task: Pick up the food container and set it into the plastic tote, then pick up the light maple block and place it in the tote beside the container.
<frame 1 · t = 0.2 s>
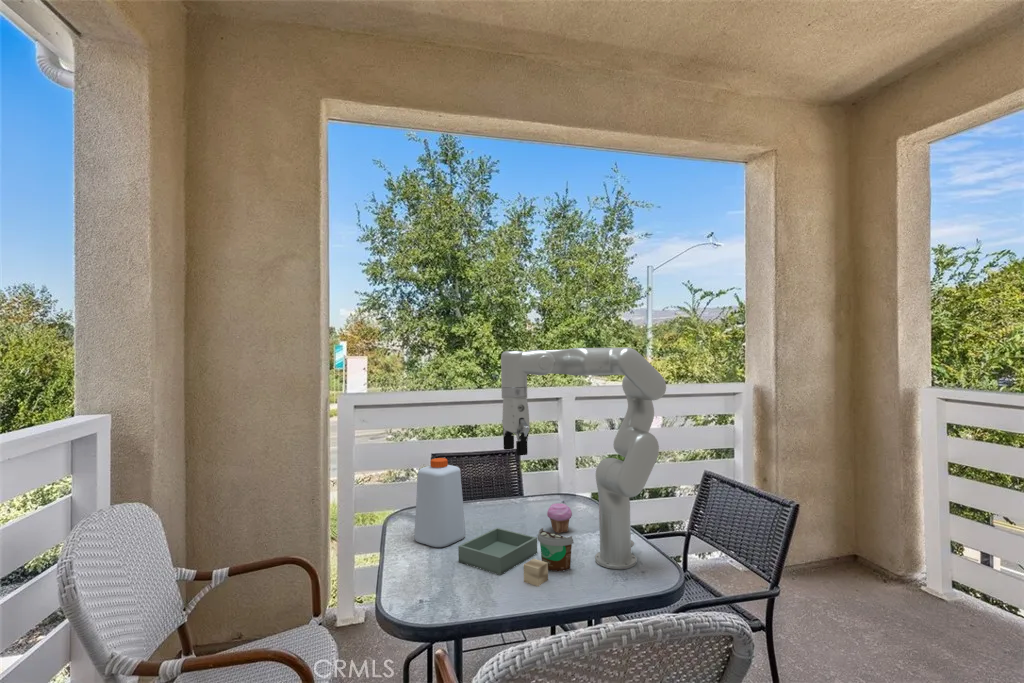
hand: (515, 451, 147), 36 cm above the table, tool pointing down, fingers open, 9 cm apart
cupcake: (559, 531, 184), on the table
food container: (551, 568, 153), on the table
maple block: (536, 581, 145), on the table
plastic bottle: (440, 539, 178), on the table
tote: (498, 557, 162), on the table
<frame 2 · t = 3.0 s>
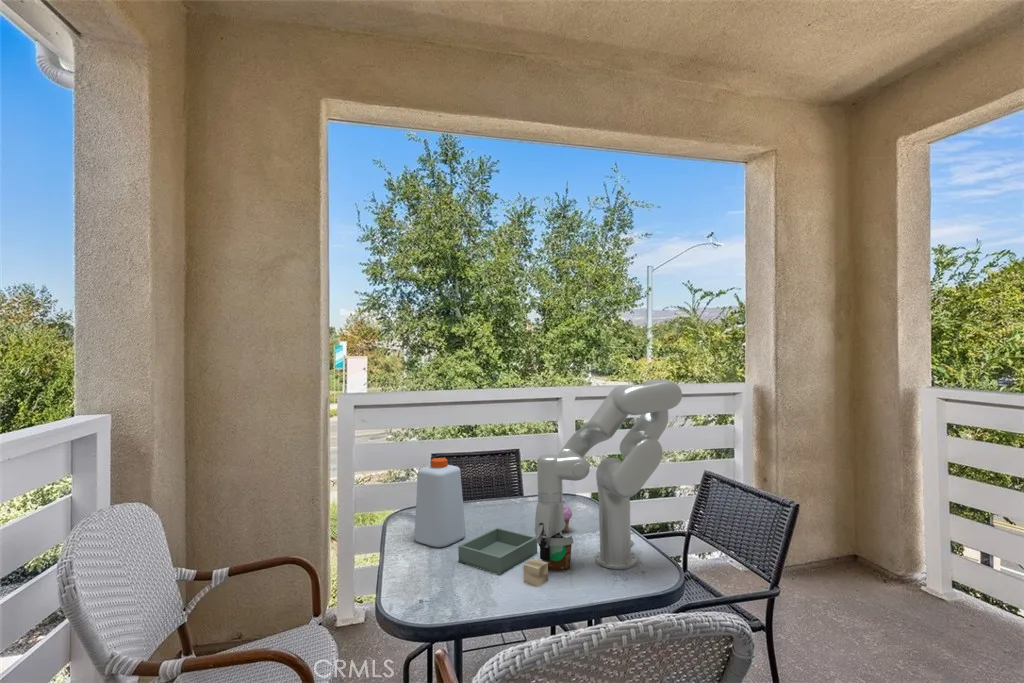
hand: (551, 555, 153), 4 cm above the table, tool pointing down, fingers closed on food container, 6 cm apart
food container: (551, 568, 153), on the table, touching gripper
everything else where it was.
when the fingers open (6 cm above the table, at t = 9.4 s): food container drops 2 cm, resting on tote.
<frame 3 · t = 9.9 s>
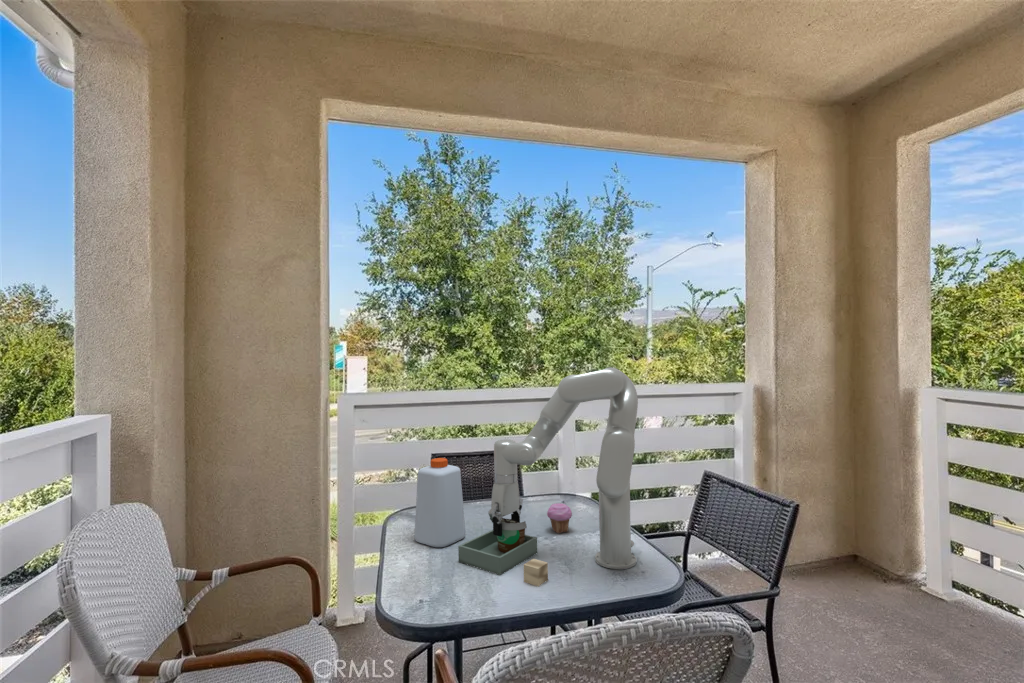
hand: (506, 530, 165), 7 cm above the table, tool pointing down, fingers open, 9 cm apart
food container: (506, 551, 165), point 1 cm above the table, touching tote
everything else where it was.
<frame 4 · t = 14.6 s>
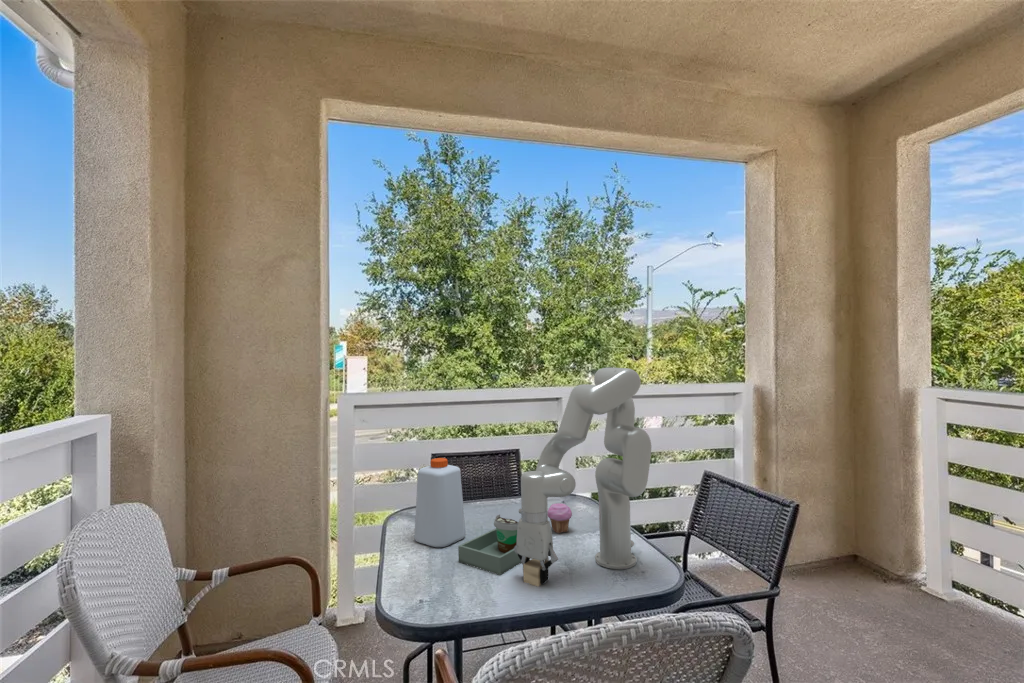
hand: (535, 579, 145), 0 cm above the table, tool pointing down, fingers closed on maple block, 5 cm apart
maple block: (535, 580, 145), on the table, touching gripper
everything else where it was.
when the fingers open (3 cm above the table, at t = 20.6 s): maple block drops 1 cm, resting on tote.
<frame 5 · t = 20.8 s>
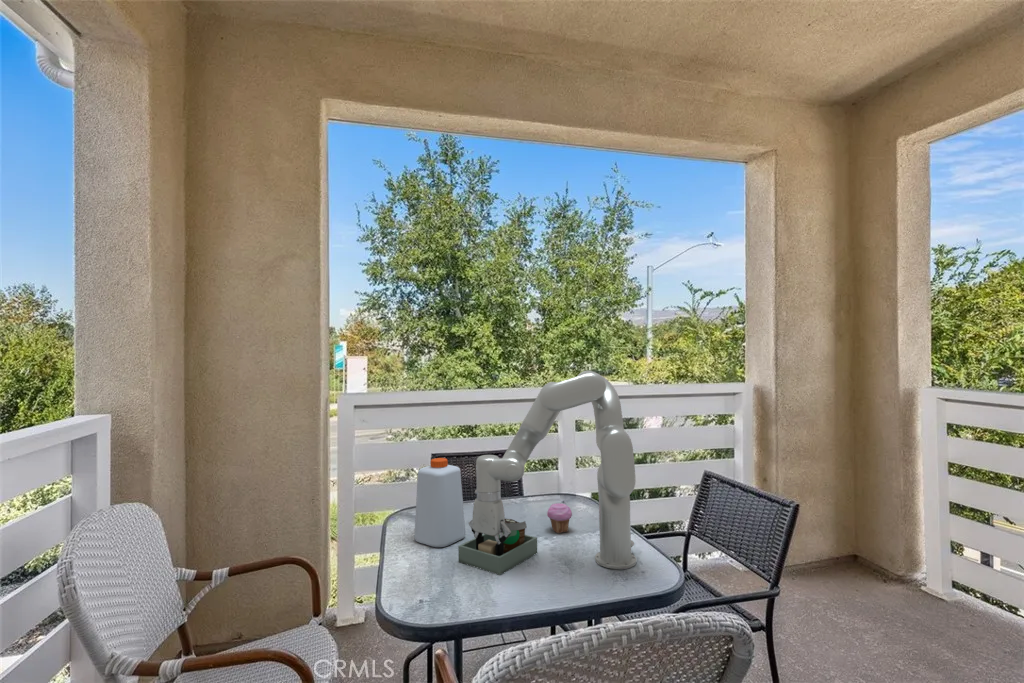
hand: (489, 552, 158), 3 cm above the table, tool pointing down, fingers open, 7 cm apart
maple block: (489, 559, 158), point 1 cm above the table, touching tote
everything else where it was.
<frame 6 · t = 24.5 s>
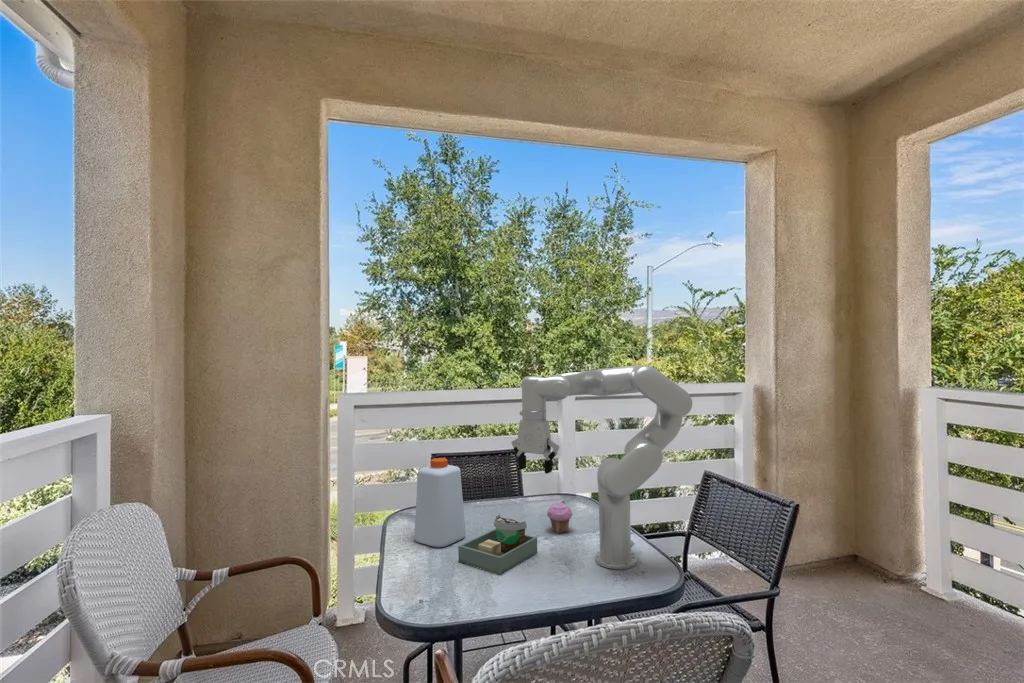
hand: (535, 470, 158), 28 cm above the table, tool pointing down, fingers open, 9 cm apart
nothing on the table moved.
at the end: food container inside the target area on the tote (3.9 cm from its centre), point 0.6 cm above the tote's base; maple block inside the target area on the tote (4.5 cm from its centre), point 0.8 cm above the tote's base; the gripper is holding nothing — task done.
